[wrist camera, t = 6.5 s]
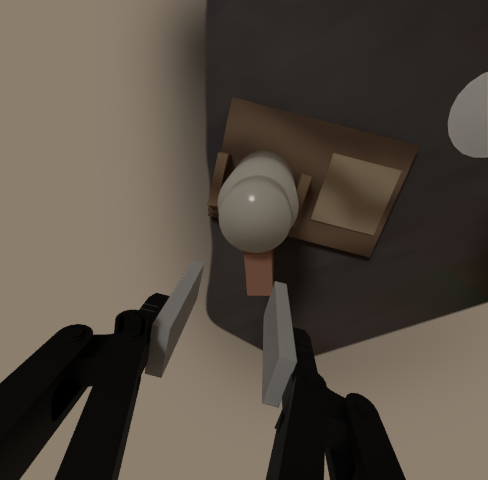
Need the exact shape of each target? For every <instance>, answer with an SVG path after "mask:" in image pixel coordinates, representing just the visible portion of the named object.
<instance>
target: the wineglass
mask: <svg viewBox="0 0 488 480" xmlns="http://www.w3.org/2000/svg"><path fill="white" fill-rule="evenodd" d="M448 132H449V137H450V139H451V141H452V143H453V145H454V147H456V148H457V149H458V150H459V151H460V152H461V153H462V154H465V155H468V156H471V157H473V158H487V157H488V72H487V73H484V74H482V75H480V76H479V77H477V78H476V79H474V80H473V81H471V82H470V83H469V84H468V85H467V86H466V87H465V88H464V89H463V90H462V91H461V93H460V94H459V95H458V96H457V98H456V100H455V102H454V104H453V106H452V108H451V110H450V115H449V119H448Z"/></svg>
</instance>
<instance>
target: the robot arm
mask: <svg viewBox="0 0 488 480" xmlns="http://www.w3.org/2000/svg"><path fill="white" fill-rule="evenodd" d="M203 267H204V263H203V262H199V261H195V260H193V261H192V262H191V264H190V265H189V267H188V269H187V270H186V272H185V274H184V275H183V277H182V278H181V280H180V281H179V283H178V284H177V286H176V288H175V289H174V291H173V293H172V294H171V296H167V295H163V294H159V293H155V294H154V295H152V296H150V297H149V298H148V299H147V300H146V301H145V303H144V304H143V305H142V307H141V309H139V310H127V311H123V312H122V313H120V314H118V316H117V317H116V319H115V330H114V334H107V335H93V331H92V329H91V328H90V327H88V326H86V325H81V324H76V325H70V326H67V327H64V328H62V329H61V330H59V331H58V332H57V333H56V334H55V335H54V336H52V337H51V338H50V339H49V340H48V341H47V342H46V343H45V344H44V345H42V346H41V347H40V348H39V349H38V350H37V351H36V352H35V353H34V354H32V355H31V356H30V357H29V358H28V359H27V360H26V361H25V362H24V363H22V364H21V365H20V366H19V367H18V368H17V369H16V370H15V371H14V372H13V373H11V374H10V375H9V376H8V377H7V378H6V379H5V380H3V381H2V382H1V383H0V480H19V479H20V478H21V477H22V475H23V474H24V473H25V472H26V470H27V469H28V467H29V466H30V465H31V463H32V462H33V461H34V459H35V458H36V457H37V455H38V454H39V453H40V451H41V450H42V449H43V447H44V446H45V444H46V443H47V441H48V440H49V439H50V438H51V436H52V435H53V434H54V432H55V431H56V430H57V428H58V427H59V425H60V424H61V423H62V421H63V420H64V419H65V417H66V416H67V414H68V413H69V412H70V411H71V409H72V408H73V406H74V405H75V404H76V402H77V401H78V400H79V398H80V397H81V396H82V394H83V393H84V392H85V390H86V389H87V387H89V386H93V387H92V389H91V392H90V394H89V397H88V399H87V402H86V404H85V406H84V409H83V411H82V414H81V416H80V419H79V421H78V424H77V426H76V429H75V431H74V433H73V436H72V438H71V441H70V443H69V446H68V448H67V451H66V453H65V456H64V458H63V460H62V463H61V465H60V468H59V470H58V473H57V475H56V477H55V480H118V476H119V472H120V468H121V463H122V459H123V455H124V450H125V446H126V442H127V437H128V433H129V429H130V424H131V420H132V416H133V411H134V407H135V403H136V398H137V394H138V390H139V385H140V381H141V374H142V372H143V370H144V368H145V367H146V369H145V374H149V375H152V376H156V377H160V378H161V377H162V375H163V372H164V370H165V368H166V366H167V364H168V362H169V359H170V357H171V355H172V353H173V350H174V348H175V346H176V344H177V342H178V339H179V337H180V335H181V333H182V331H183V328H184V326H185V324H186V322H187V319H188V317H189V315H190V313H191V311H192V308H193V306H194V304H195V302H196V299H197V296H198V291H199V286H200V282H201V277H202V272H203ZM311 345H312V344H311V340H310V337H309V335H308V334H307V333H306V331H305V330H302V329H298V328H294V327H292V321H291V314H290V306H289V299H288V292H287V284H284V283H280V282H276V281H275V283H274V286H273V289H272V292H271V295H270V298H269V301H268V304H267V307H266V311H265V314H264V333H263V385H262V387H263V388H262V403H263V404H267V405H271V406H274V407H279V405H280V402H281V400H282V407H283V409H282V411H281V414H280V416H279V419H278V421H277V424H276V426H275V429H277V430H276V435H275V439H274V444H273V449H272V453H271V458H270V463H269V467H268V472H267V476H266V480H324V456H325V455H326V461H327V465H328V471H329V476H330V480H406V479H405V477H404V474H403V472H402V469H401V467H400V464H399V462H398V460H397V457H396V455H395V452H394V450H393V448H392V445H391V443H390V441H389V438H388V435H387V433H386V431H385V428H384V426H383V423H382V421H381V419H380V416H379V414H378V411H377V410H376V408H375V407H374V405H373V404H372V403H371V402H370V401H369V400H368V399H367V398H365V397H364V396H362V395H360V394H357V393H350V394H348V395H347V396H346V398H344V397H342V396H340V395H338V394H336V393H334V392H333V391H331V390H330V389H328V388H327V386H326V382H325V381H324V379H323V378H322V377H321V376H320V375H319V374H318V372H317V368H316V363H315V358H314V354H313V349H312V346H311Z"/></svg>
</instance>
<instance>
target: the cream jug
mask: <svg viewBox="0 0 488 480" xmlns="http://www.w3.org/2000/svg"><path fill="white" fill-rule="evenodd" d="M298 208H299V203H298V197H297V192H296V187H295V182H294V177H293V172H292V169H291V167H290V165H289V163H288V162H287V161H286V160H285V159H284V158H283V157H282V156H281V155H279V154H278V153H275V152H273V151H268V150H259V151H255V152H252V153H250V154H248V155H247V156H245V157H244V158H243V159H242V160H241V161H240V163H239V164H238V165H237V167H236V168H235V169H234V171H233V172H232V173H231V175H230V176H229V177H228V179H227V180H226V182H225V183H224V184H223V186H222V188H221V190H220V193H219V196H218V212H219V225H220V228H221V231H222V233H223V235H224V237H225V238H226V239H227V240H228V242H230V243H231V244H232V245H233V246H235V247H236V248H238V249H240V250H242V251H245V253H244V259H245V271H246V284H247V295H261V296H270V295H271V292H272V289H273V279H274V248H275V247H277V246H278V245H280V244H281V243H282V242H283V241H284V239H285V238H286V237H287V235H288V233H289V230H290V229H291V227H292V226H293V224H294V222H295V220H296V218H297V214H298Z"/></svg>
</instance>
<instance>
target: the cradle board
mask: <svg viewBox="0 0 488 480" xmlns="http://www.w3.org/2000/svg"><path fill="white" fill-rule="evenodd" d="M419 147H420V146H417V145H414V144H410V143H406V142H402V141H398V140H395V139H391V138H387V137H383V136H379V135H375V134H372V133H368V132H364V131H360V130H356V129H353V128H349V127H345V126H341V125H337V124H334V123H330V122H326V121H322V120H318V119H314V118H311V117H307V116H303V115H299V114H295V113H292V112H288V111H284V110H280V109H276V108H273V107H269V106H265V105H261V104H257V103H253V102H250V101H246V100H242V99H238V98H234V97H232V101H231V106H230V110H229V115H228V120H227V125H226V130H225V135H224V140H223V145H222V150H221V152H218V156H217V161H216V166H215V171H214V176H213V181H212V186H211V191H210V196H209V201H208V205H209V208H208V211H209V213H208V216H211V217H215V218H219V212H218V196H219V193H220V190H221V188H222V186H223V184H224V183H225V182H226V180H227V179H228V177H229V176H230V175H231V173H232V172H233V171H234V169H235V168H236V167H237V165H238V164H239V163H240V161H241V160H242V159H243V158H244V157H245V156H247V155H248V154H250V153H252V152H255V151H259V150H268V151H273V152H275V153H278V154H279V155H281V156H282V157H283V158H284V159H285V160H286V161H287V162H288V163H289V165H290V167H291V169H292V172H293V177H294V182H295V187H296V192H297V197H298V203H299V208H298V214H297V218H296V220H295V222H294V224H293V226H292V227H291V229H290V230H289V233H288V235H287V236H289V237H292V238H296V239H300V240H304V241H308V242H312V243H316V244H319V245H323V246H327V247H331V248H335V249H339V250H343V251H346V252H350V253H354V254H358V255H362V256H366V257H370V256H371V254H372V251H373V249H374V247H375V245H376V243H377V240H378V238H379V236H380V234H381V231H382V229H383V227H384V225H385V222H386V220H387V218H388V216H389V214H390V211H391V209H392V207H393V205H394V202H395V200H396V198H397V196H398V193H399V191H400V189H401V187H402V185H403V182H404V180H405V178H406V176H407V173H408V171H409V169H410V167H411V164H412V162H413V160H414V158H415V155H416V153H417V151H418V149H419Z"/></svg>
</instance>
